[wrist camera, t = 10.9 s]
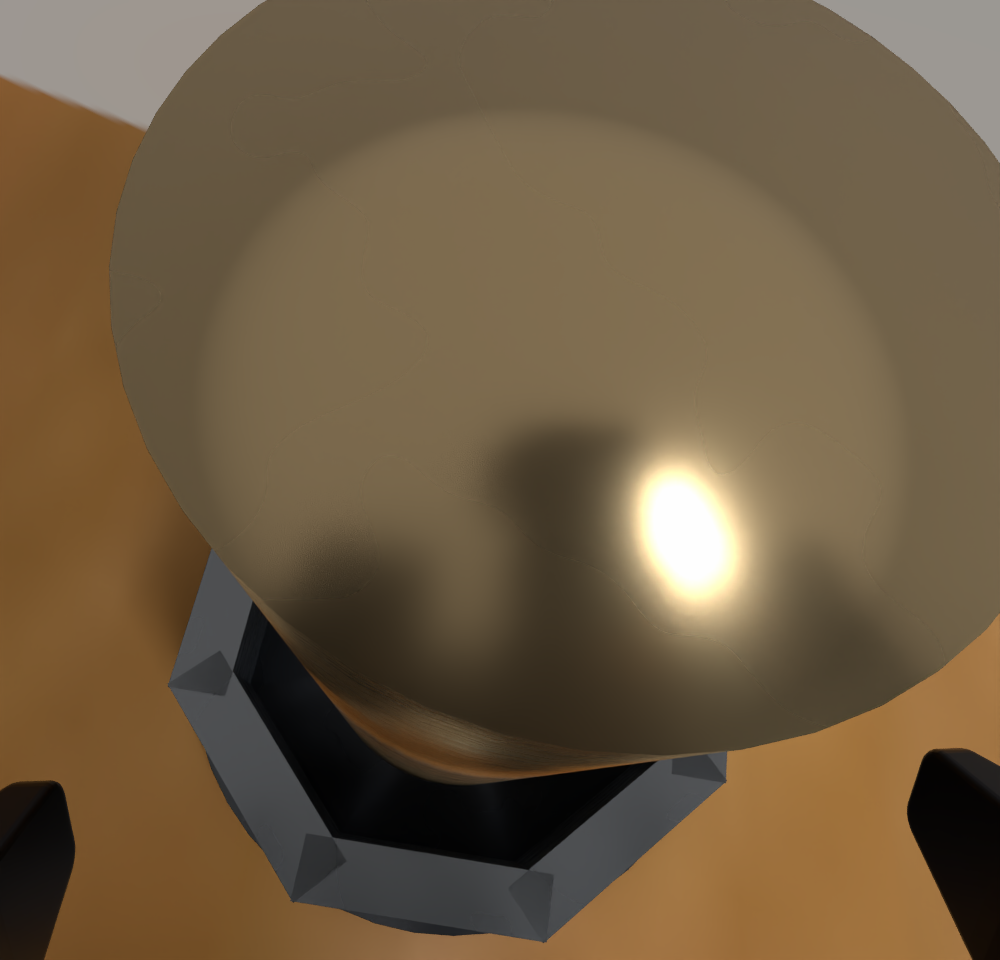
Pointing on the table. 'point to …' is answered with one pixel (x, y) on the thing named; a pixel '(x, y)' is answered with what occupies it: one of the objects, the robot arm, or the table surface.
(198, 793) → the table surface
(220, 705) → the ring collar
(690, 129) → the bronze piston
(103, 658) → the table surface
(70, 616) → the table surface
